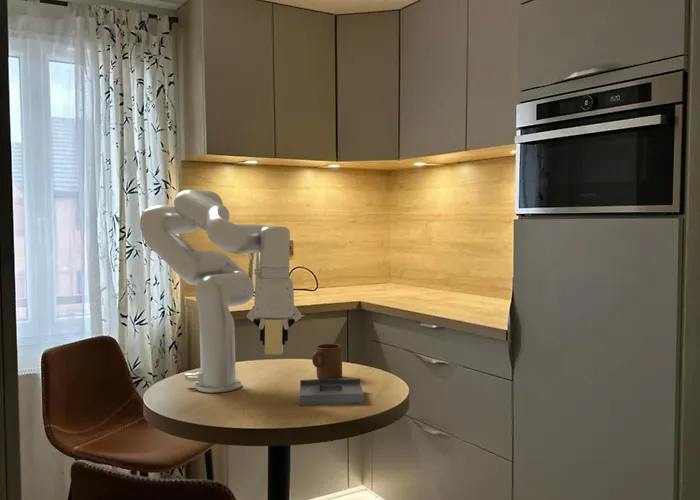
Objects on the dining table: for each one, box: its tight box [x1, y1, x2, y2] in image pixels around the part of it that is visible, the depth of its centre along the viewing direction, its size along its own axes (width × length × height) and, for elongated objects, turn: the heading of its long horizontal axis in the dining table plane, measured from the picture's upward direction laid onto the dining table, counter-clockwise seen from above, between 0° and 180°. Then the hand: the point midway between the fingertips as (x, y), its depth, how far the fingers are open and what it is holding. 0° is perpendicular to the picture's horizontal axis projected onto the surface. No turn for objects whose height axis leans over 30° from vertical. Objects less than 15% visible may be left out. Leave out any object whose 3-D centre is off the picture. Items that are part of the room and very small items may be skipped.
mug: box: [311, 343, 343, 379], centre depth 182 cm, size 12×8×9 cm, turn 149°
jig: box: [299, 377, 365, 406], centre depth 162 cm, size 16×12×4 cm
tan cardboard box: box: [264, 319, 284, 355], centre depth 162 cm, size 4×4×9 cm
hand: (274, 343), depth 163 cm, fingers closed on tan cardboard box, 4 cm apart
